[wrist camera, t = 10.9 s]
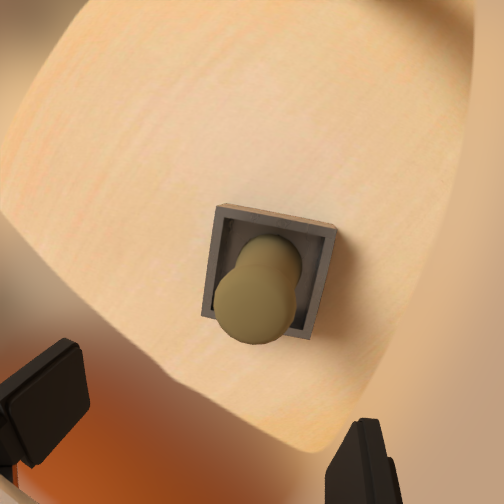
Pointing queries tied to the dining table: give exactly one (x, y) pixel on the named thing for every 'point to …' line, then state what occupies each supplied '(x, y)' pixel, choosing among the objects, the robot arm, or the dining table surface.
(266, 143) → the dining table surface
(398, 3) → the dining table surface
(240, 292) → the cork
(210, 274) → the socket
